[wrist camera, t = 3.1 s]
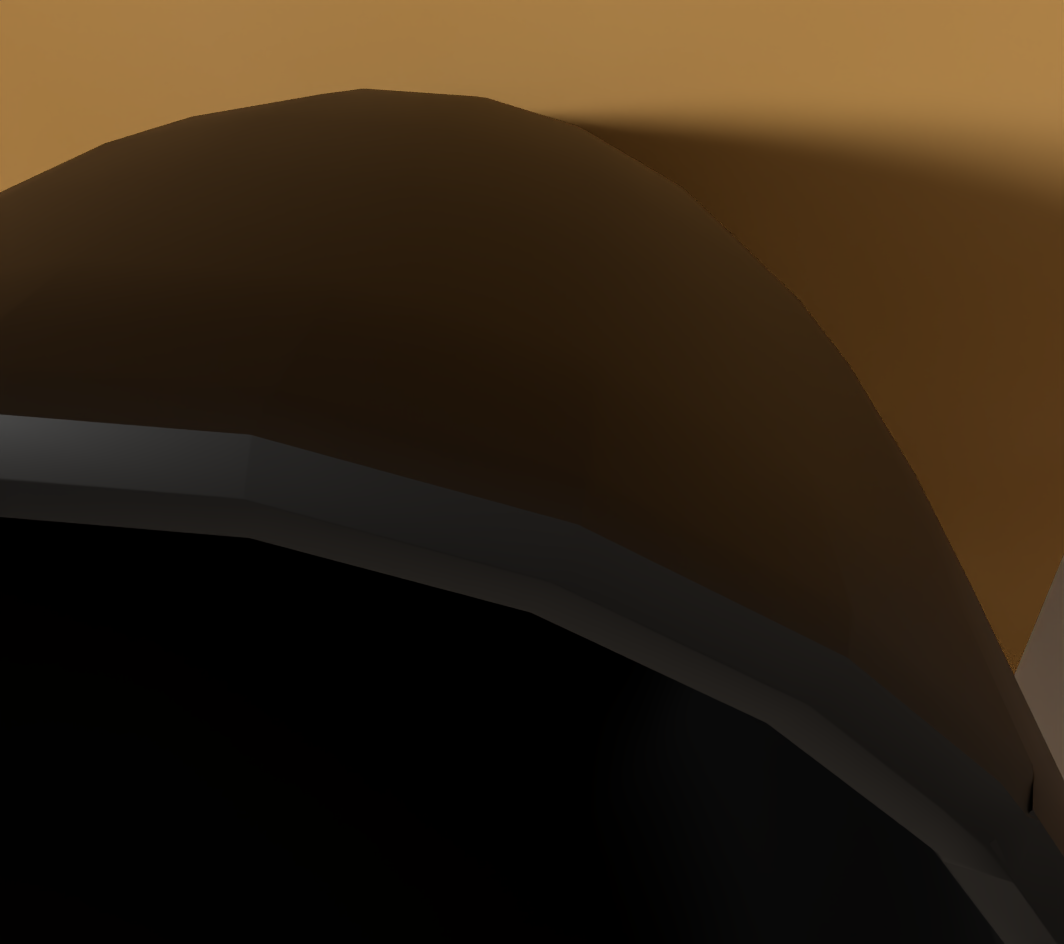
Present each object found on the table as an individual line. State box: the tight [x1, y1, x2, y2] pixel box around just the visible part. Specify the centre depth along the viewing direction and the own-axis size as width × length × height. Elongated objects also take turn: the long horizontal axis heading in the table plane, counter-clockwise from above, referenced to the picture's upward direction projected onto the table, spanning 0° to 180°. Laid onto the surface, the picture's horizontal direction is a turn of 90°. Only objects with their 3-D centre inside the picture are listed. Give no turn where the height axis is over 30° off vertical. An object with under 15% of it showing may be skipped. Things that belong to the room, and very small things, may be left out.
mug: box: [0, 89, 1064, 944], centre depth 10 cm, size 8×12×10 cm
